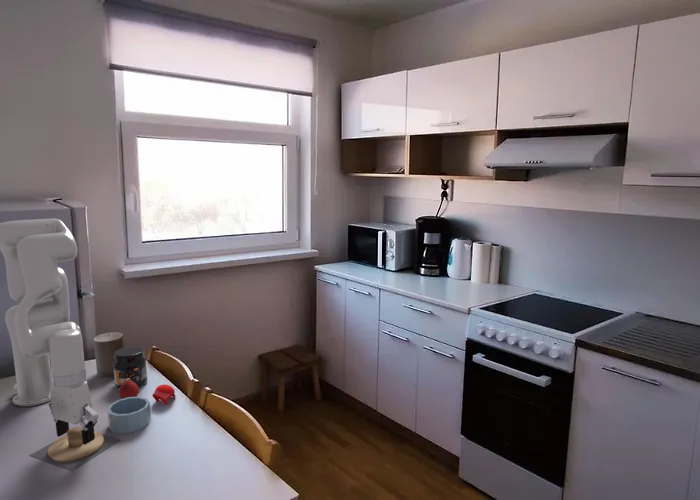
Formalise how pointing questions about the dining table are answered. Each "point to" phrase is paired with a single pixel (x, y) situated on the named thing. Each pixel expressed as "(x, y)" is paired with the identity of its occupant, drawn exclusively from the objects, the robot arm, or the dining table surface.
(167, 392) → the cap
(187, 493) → the dining table surface
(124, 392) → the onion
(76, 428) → the lid
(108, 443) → the mat
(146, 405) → the bowl
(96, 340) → the pillar candle
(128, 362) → the supplement container
